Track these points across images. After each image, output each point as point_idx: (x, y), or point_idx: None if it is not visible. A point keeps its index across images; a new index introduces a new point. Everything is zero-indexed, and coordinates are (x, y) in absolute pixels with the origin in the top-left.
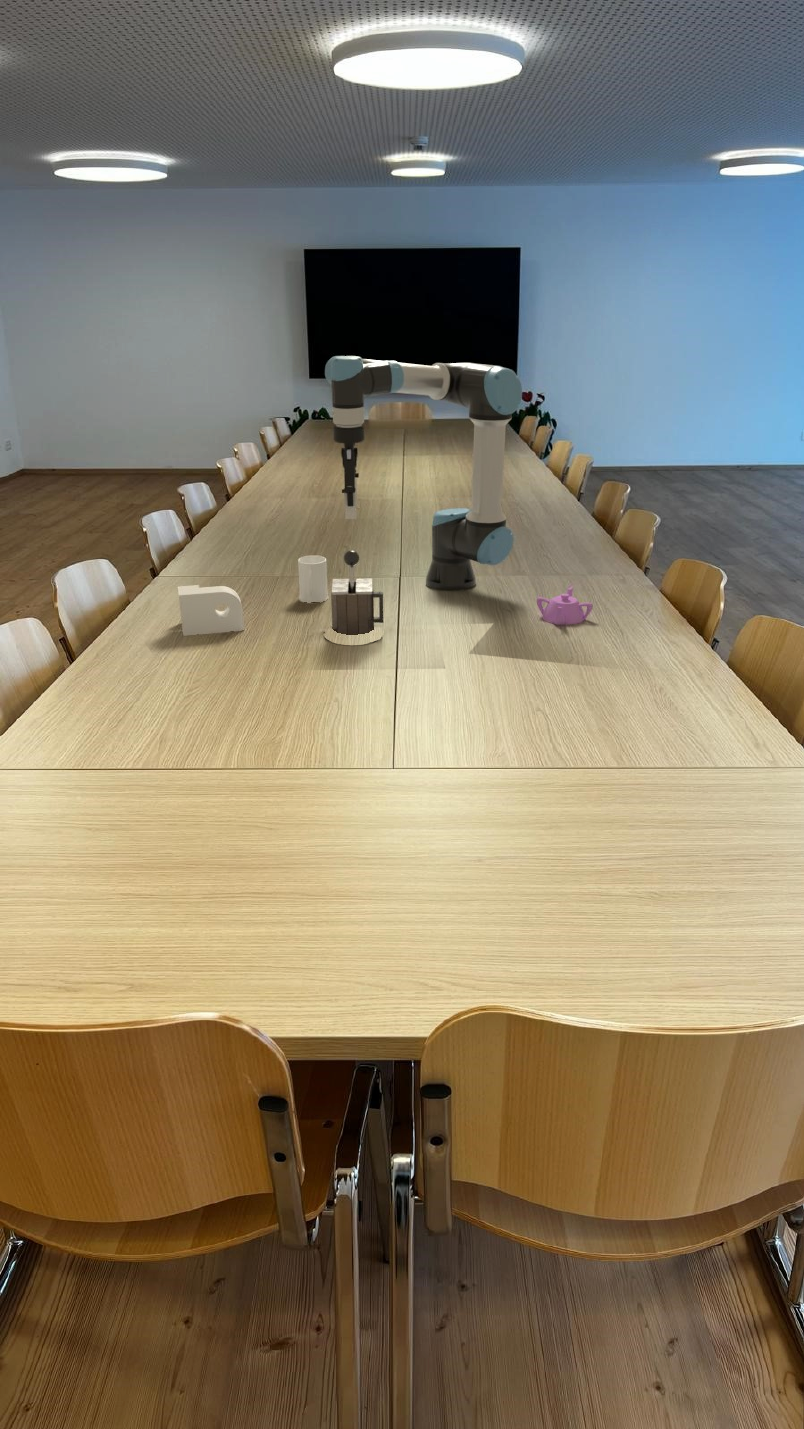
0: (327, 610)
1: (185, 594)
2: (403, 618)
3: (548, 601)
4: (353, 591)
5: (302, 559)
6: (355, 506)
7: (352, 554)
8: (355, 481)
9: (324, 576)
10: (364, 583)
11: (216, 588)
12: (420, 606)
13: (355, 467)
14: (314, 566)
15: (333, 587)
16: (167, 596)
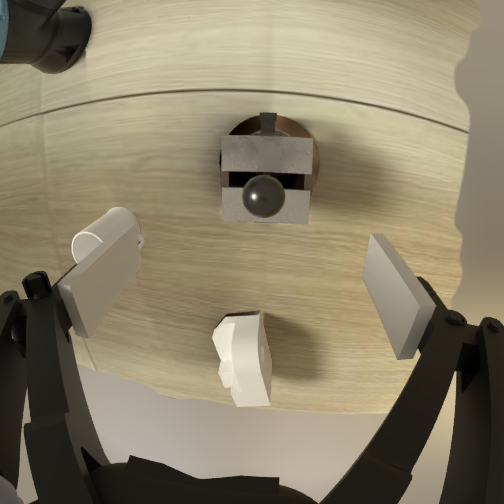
0: (163, 205)
1: (267, 400)
2: (198, 82)
3: None
4: (270, 175)
5: None
6: (404, 263)
7: (278, 197)
8: (78, 283)
9: (108, 224)
10: (256, 153)
11: (245, 377)
12: (146, 61)
13: (369, 452)
14: None
15: (279, 219)
16: (145, 374)
